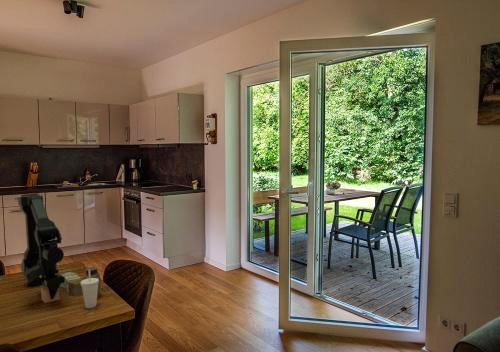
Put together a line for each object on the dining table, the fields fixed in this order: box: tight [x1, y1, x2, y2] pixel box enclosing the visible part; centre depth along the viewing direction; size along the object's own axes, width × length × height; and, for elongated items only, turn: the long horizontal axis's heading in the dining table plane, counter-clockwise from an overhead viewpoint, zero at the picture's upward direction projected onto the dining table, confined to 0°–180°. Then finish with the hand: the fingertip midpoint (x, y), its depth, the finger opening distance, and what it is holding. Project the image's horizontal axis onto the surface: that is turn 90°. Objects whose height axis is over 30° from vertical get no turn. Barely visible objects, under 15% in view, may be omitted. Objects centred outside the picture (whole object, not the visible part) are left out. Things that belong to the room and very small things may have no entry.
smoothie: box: [80, 270, 99, 309], centre depth 137 cm, size 6×6×14 cm
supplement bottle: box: [83, 266, 102, 298], centre depth 147 cm, size 6×6×11 cm
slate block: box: [59, 271, 78, 289], centre depth 159 cm, size 5×5×5 cm
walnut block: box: [68, 278, 84, 297], centre depth 151 cm, size 5×5×5 cm
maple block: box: [64, 274, 81, 293], centre depth 155 cm, size 5×5×5 cm
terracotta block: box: [40, 285, 60, 304], centre depth 145 cm, size 5×5×5 cm
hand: (50, 296), depth 145 cm, fingers closed on terracotta block, 5 cm apart
